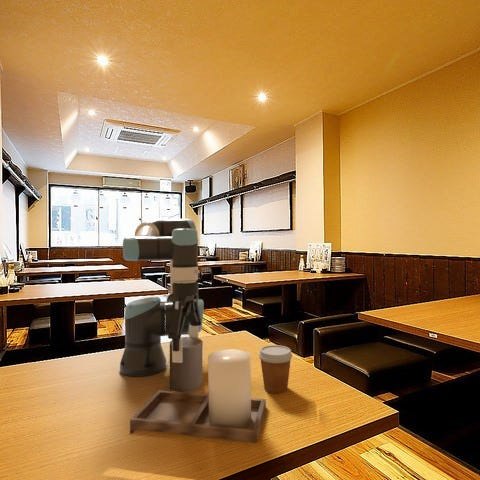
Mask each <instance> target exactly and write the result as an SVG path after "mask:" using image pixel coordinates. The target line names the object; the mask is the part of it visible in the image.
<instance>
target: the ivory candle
mask: <svg viewBox="0 0 480 480" xmlns="http://www.w3.org/2000/svg"><path fill="white" fill-rule="evenodd" d="M251 356H252V355H251V354H250V353H249V352H248V351H245V350H241V349H232V348H231V349H230V348H229V349H222V350H221V349H220V350H215V351H213V352H210V354H209V355H208V357H207V365H208V366H207V367H208V368H207V370H208V371H207V374H208V375H207V376H208V378H207V379H208V380H207V382H208V384H207V385H208V389H207V391H208V392H207V393H208V394H209V424H210V425H211V426H221V427H230V428H240V429H245V428H247V427H248V426H249V425H250V423H251V398H252V368H251V367H252V361H251V360H252V357H251Z"/></svg>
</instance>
